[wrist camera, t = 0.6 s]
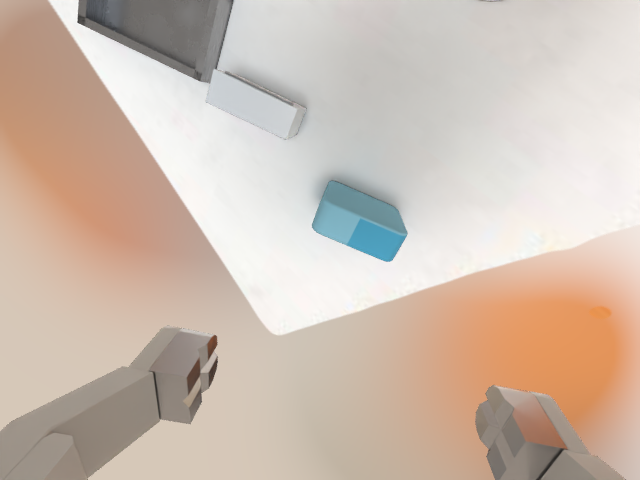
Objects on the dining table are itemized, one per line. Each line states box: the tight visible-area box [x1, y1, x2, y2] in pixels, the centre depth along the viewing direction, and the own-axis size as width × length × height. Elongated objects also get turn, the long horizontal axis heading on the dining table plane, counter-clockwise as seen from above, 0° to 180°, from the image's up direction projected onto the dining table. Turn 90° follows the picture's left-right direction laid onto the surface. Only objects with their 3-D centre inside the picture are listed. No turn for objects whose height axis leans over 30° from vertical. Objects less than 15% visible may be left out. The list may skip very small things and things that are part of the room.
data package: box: [312, 181, 408, 262], centre depth 44 cm, size 12×4×12 cm, turn 68°
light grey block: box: [206, 69, 307, 140], centre depth 41 cm, size 4×11×8 cm, turn 66°
